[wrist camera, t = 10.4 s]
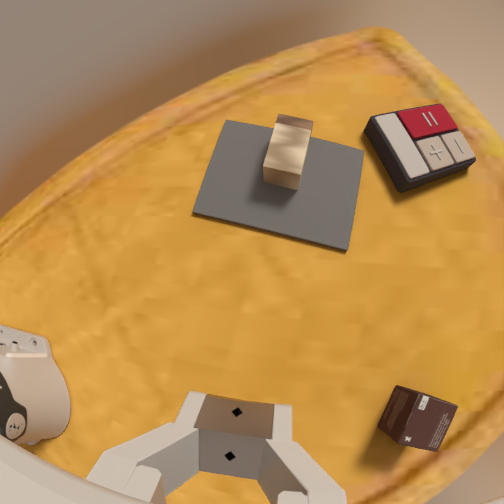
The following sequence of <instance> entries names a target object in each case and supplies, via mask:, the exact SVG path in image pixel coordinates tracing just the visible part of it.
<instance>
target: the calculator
mask: <svg viewBox="0 0 504 504" xmlns="http://www.w3.org/2000/svg"><path fill="white" fill-rule="evenodd" d="M364 132H365V133H366V135H367V137H368V139H369V140H370V142H371V144H372V145H373V147H374V149H375V150H376V152H377V154H378V156H379V158H380V159H381V161H382V163H383V165H384V166H385V168H386V170H387V172H388V174H389V176H390V178H391V179H392V181H393V183H394V185H395V187H396V189H397V191H398V192H400V193H402V192H405V191H407V190H410V189H413V188H415V187H418V186H421V185H423V184H425V183H428V182H431V181H433V180H436V179H439V178H442V177H445V176H448V175H451V174H453V173H456V172H459V171H462V170H464V169H467V168H468V167H469V166H471V165H472V164H473V163H474V162H475V161H476V158H475V155H474V153H473V151H472V150H471V148H470V146H469V145H468V143H467V141H466V140H465V138H464V136H463V135H462V133H461V132H460V131H459V130H458V128H457V125H456V124H455V122H454V121H453V119H452V118H451V116H450V115H449V113H448V112H447V110H446V109H445V107H444V106H443V105H442V104H434V105H428V106H422V107H416V108H411V109H405V110H400V111H395V112H390V113H385V114H380V115H375V116H371V117H370V119H369V121H368V123H367V125H366V127H365V129H364Z"/></svg>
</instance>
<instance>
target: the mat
mask: <svg viewBox="0 0 504 504" xmlns="http://www.w3.org/2000/svg"><path fill="white" fill-rule="evenodd" d="M273 130H274V129H273V128H268V127H263V126H258V125H253V124H247V123H242V122H236V121H230V120H226V121H225V123H224V126H223V129H222V131H221V134H220V136H219V139H218V142H217V144H216V147H215V150H214V152H213V155H212V158H211V160H210V163H209V166H208V169H207V172H206V174H205V177H204V180H203V183H202V186H201V188H200V191H199V194H198V197H197V200H196V203H195V206H194V209H193V213H195V214H199V215H203V216H208V217H212V218H216V219H220V220H224V221H228V222H233V223H237V224H241V225H245V226H249V227H253V228H257V229H261V230H265V231H269V232H273V233H277V234H281V235H285V236H289V237H293V238H297V239H301V240H305V241H309V242H313V243H317V244H321V245H325V246H329V247H332V248H336V249H340V250H344V251H347V250H348V246H349V241H350V236H351V231H352V225H353V220H354V214H355V208H356V202H357V196H358V190H359V184H360V177H361V170H362V163H363V156H364V151H363V150H359V149H356V148H352V147H349V146H345V145H341V144H338V143H334V142H330V141H326V140H322V139H318V138H314V137H310V141H309V145H308V150H307V154H306V158H305V162H304V167H303V171H302V175H301V179H300V183H299V188H298V190H294V189H290V188H286V187H282V186H278V185H273V184H269V183H265V182H264V180H263V164H264V161H265V157H266V154H267V150H268V147H269V144H270V140H271V137H272V134H273Z"/></svg>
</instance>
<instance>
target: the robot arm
mask: <svg viewBox="0 0 504 504" xmlns="http://www.w3.org/2000/svg"><path fill="white" fill-rule="evenodd" d="M36 343H37V345H36ZM69 418H70V398H69V393H68V389H67V385H66V383H65V380H64V378H63V376H62V374H61V372H60V370H59V368H58V367H57V365H56V364H55V362H54V360H53V358H52V353H51V349H50V345H49V342H48V340H47V339H46V338H45V337H43V336H40V335H36V334H32V333H29V332H25V331H22V330H18V329H15V328H12V327H8V326H5V325H2V324H0V504H166V500H165V497H166V496H167V495H168V494H170V493H171V492H173V491H174V490H175V489H177V488H178V487H180V486H181V485H182V484H184V483H185V482H186V481H188V480H189V479H190V478H192V477H193V476H194V475H196V474H197V473H198V472H199V471H204V472H210V473H216V474H223V475H230V476H235V477H241V478H248V479H254V480H258V483H259V485H260V486H261V488H262V490H263V491H264V493H265V495H266V496H267V498H268V500H269V501H270V503H271V504H347V500H346V493H345V491H344V490H343V489H342V488H341V487H340V486H339V485H338V484H337V483H336V482H335V481H334V480H333V479H332V478H331V477H330V476H329V475H328V474H327V473H326V472H325V471H324V470H323V469H322V468H321V467H320V466H319V465H318V464H317V462H316V461H315V460H314V459H313V458H312V457H311V456H310V455H309V454H308V453H307V452H306V451H305V450H304V449H303V448H302V447H301V446H300V444H299V443H298V442H292V406H291V405H287V404H269V403H261V402H253V401H245V400H239V399H234V398H228V397H222V396H217V395H212V394H206V393H201V392H196V391H190V392H189V393H188V394H187V397H186V399H185V401H184V403H183V405H182V407H181V409H180V411H179V413H178V415H177V418H176V420H175V422H174V423H170V422H168V423H166V424H164V425H162V426H160V427H158V428H156V429H154V430H151V431H149V432H147V433H145V434H143V435H140V436H138V437H136V438H134V439H132V440H129V441H127V442H125V443H122V444H120V445H118V446H115V447H113V448H110V449H108V450H106V451H104V452H103V454H102V455H101V457H100V458H99V460H98V461H97V463H96V464H95V466H94V467H93V469H92V470H91V472H90V473H89V475H88V476H87V478H86V479H83V478H81V477H79V476H77V475H74V474H72V473H70V472H68V471H66V470H64V469H61V468H59V467H57V466H55V465H53V464H51V463H49V462H47V461H45V460H43V459H42V458H40V457H38V456H36V455H34V454H32V453H30V452H29V451H27V450H25V449H23V448H22V447H20V446H18V445H19V444H24V443H26V444H28V445H34V444H37V443H38V442H39V441H40V440H41V439H50V438H55V437H57V436H59V435H60V434H61V433H62V432H63V431H64V430H65V428H66V427H67V424H68V422H69ZM480 504H504V496H501V497H499V498H496V499H493V500H490V501H487V502H483V503H480Z"/></svg>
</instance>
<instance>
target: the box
mask: <svg viewBox="0 0 504 504" xmlns="http://www.w3.org/2000/svg"><path fill="white" fill-rule="evenodd" d="M457 408H458V406H457V405H455V404H452V403H450V402H447V401H444V400H441V399H439V398H436V397H433V396H431V395H428V394H425V393H421V392H418V391H415V390H412V389H409V388H405V387H402V386H398V385H396V387H395V389H394V392H393V394H392V396H391V398H390V401H389V403H388V405H387V407H386V410H385V412H384V414H383V416H382V418H381V420H380V423H379V425H378V427H379V428H380V429H381V430H382V431H384V432H385V433H386V434H387V435H388V436H390V437H391V438H392V439H393V440H394V441H395V442H397V443H398V444H402V445H406V446H411V447H415V448H419V449H425V450H429V451H434V452H437V451H438V449H439V447H440V445H441V443H442V441H443V439H444V437H445V435H446V432H447V430H448V428H449V426H450V424H451V421H452V419H453V417H454V415H455V412H456V410H457Z"/></svg>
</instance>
